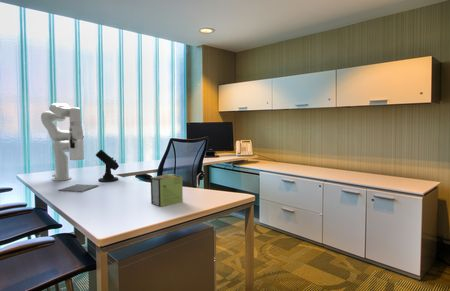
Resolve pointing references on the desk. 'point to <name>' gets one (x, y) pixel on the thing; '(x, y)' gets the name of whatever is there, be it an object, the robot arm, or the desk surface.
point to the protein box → (166, 190)
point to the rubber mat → (78, 188)
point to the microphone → (107, 167)
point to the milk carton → (77, 150)
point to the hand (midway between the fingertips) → (76, 147)
